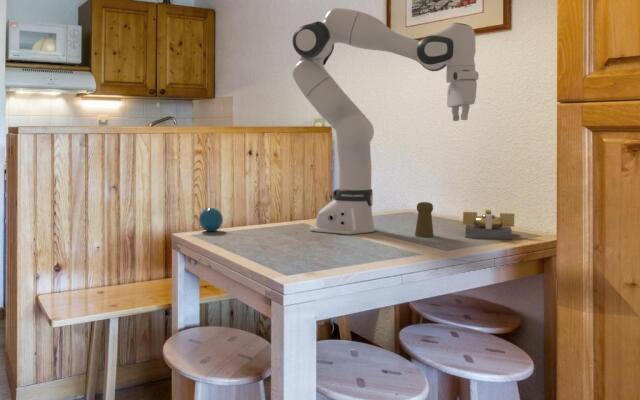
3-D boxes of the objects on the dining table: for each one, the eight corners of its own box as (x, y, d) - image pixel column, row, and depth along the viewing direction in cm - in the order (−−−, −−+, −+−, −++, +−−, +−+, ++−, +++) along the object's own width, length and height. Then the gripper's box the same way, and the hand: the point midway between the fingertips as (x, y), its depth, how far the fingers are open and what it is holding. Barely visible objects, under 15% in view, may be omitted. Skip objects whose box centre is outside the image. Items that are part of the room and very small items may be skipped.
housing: (465, 237, 185) (465, 228, 184) (466, 231, 197) (466, 222, 197) (511, 239, 181) (511, 230, 181) (509, 233, 194) (509, 223, 193)
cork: (433, 237, 184) (434, 203, 183) (414, 237, 185) (415, 203, 184) (433, 234, 190) (434, 201, 189) (415, 233, 191) (415, 201, 190)
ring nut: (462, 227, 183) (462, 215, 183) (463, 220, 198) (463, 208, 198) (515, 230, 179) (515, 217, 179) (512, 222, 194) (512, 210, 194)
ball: (216, 234, 189) (215, 209, 189) (194, 232, 192) (194, 208, 191) (227, 230, 197) (227, 207, 196) (206, 228, 199) (206, 206, 199)
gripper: (442, 79, 192) (442, 121, 194) (459, 73, 172) (458, 119, 174) (461, 79, 193) (460, 121, 194) (480, 72, 172) (479, 119, 174)
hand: (459, 120), depth 184 cm, fingers open, 8 cm apart
